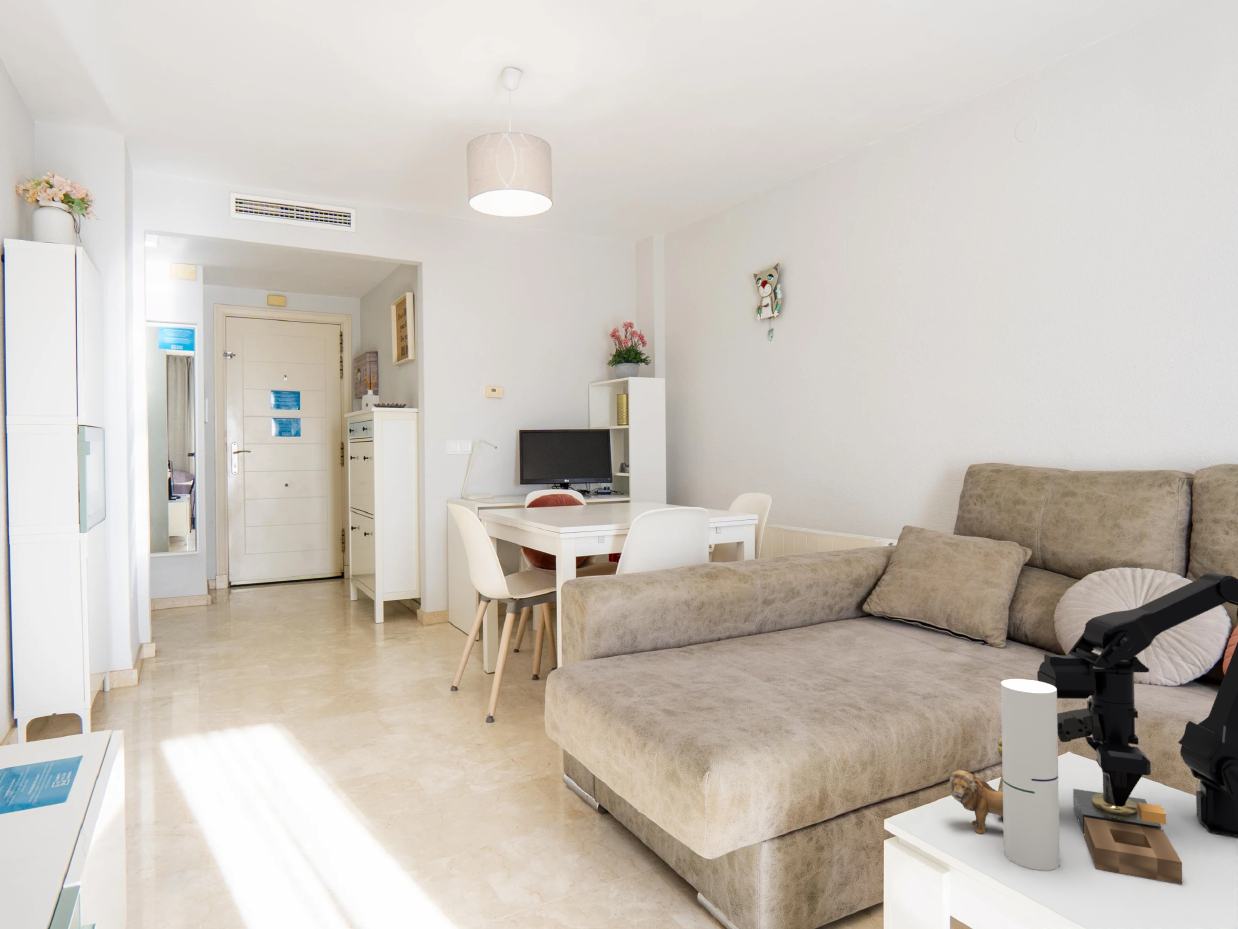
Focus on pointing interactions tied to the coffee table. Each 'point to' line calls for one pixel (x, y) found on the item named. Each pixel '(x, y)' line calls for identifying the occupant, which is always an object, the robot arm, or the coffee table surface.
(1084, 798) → the socket block
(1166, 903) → the coffee table surface
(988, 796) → the lion figurine
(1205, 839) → the coffee table surface
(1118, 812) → the dark flanged cylinder
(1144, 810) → the cardboard box
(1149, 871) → the rack block
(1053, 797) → the cylindrical container
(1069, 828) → the coffee table surface
